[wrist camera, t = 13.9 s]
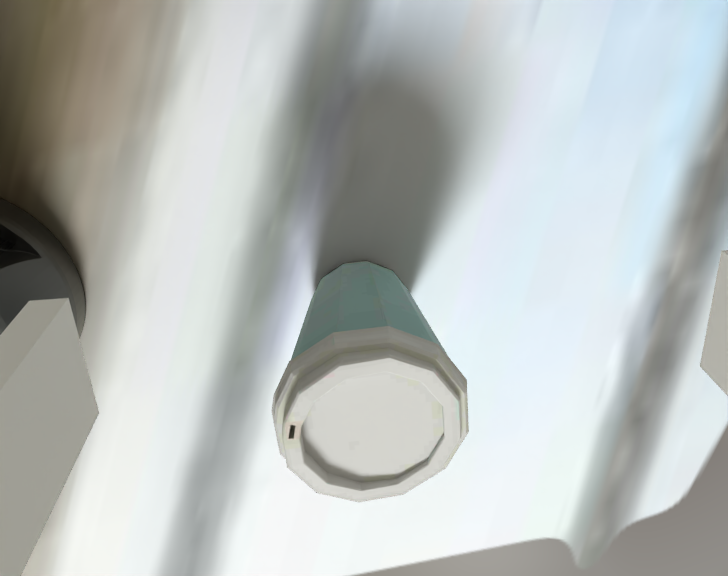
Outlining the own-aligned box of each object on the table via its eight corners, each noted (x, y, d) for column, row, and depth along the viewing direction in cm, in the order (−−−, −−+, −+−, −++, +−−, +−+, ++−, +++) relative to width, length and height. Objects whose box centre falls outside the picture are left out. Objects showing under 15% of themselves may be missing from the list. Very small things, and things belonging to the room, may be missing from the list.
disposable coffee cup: (448, 243, 47) (502, 359, 33) (418, 377, 51) (454, 527, 38) (292, 223, 45) (281, 335, 32) (275, 362, 50) (259, 512, 36)
